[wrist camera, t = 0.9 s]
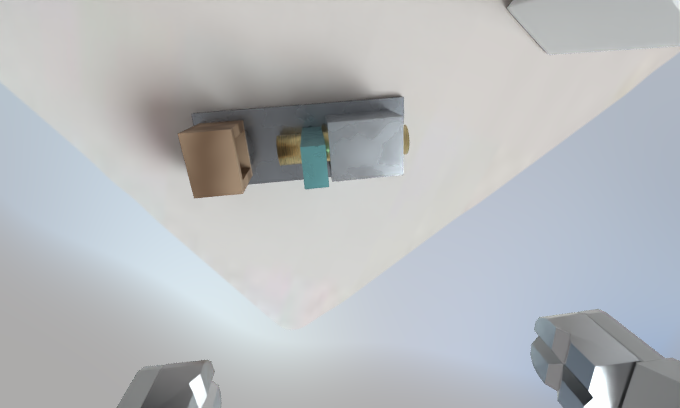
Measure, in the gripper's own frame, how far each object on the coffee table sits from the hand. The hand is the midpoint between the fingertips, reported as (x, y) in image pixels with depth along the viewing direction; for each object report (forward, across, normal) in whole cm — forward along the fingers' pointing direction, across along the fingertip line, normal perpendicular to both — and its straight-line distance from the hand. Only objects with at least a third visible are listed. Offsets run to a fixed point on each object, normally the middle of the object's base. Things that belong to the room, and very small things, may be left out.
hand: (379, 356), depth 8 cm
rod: (+29, -2, 0) cm, 29 cm away
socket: (+30, +10, 0) cm, 32 cm away
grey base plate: (+30, +3, 0) cm, 30 cm away
